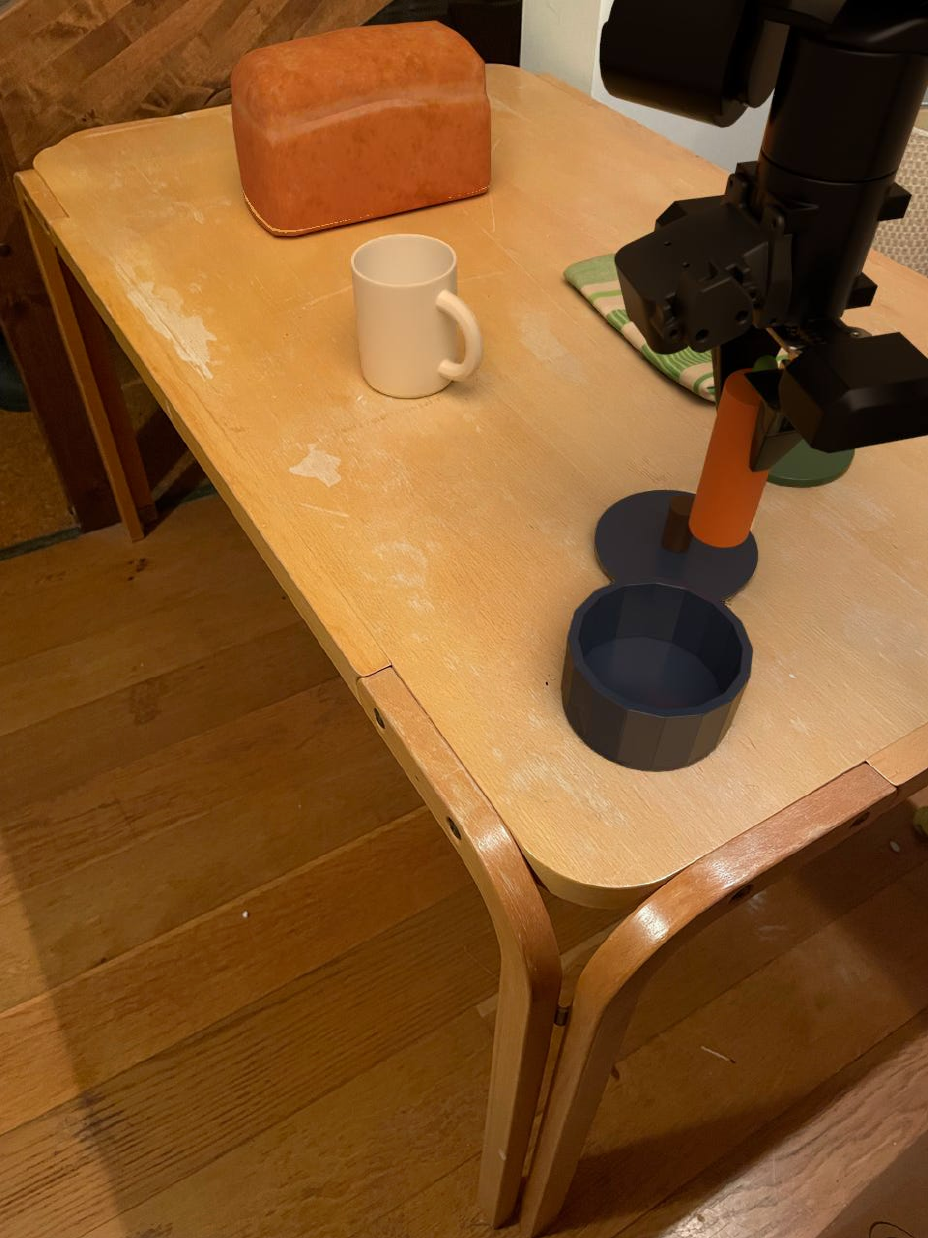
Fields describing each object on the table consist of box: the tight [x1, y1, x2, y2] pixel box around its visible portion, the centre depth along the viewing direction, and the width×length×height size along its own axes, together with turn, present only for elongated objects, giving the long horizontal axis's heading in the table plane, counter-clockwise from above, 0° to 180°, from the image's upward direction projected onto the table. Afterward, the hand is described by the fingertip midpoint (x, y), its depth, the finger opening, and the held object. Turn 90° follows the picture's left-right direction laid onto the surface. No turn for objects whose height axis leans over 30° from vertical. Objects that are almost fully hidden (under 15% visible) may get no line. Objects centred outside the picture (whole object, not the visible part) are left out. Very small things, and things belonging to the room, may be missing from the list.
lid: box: [593, 489, 759, 603], centre depth 61 cm, size 11×11×5 cm
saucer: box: [766, 439, 856, 488], centre depth 70 cm, size 10×10×1 cm
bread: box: [229, 20, 492, 237], centre depth 93 cm, size 14×26×16 cm, turn 116°
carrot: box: [689, 355, 778, 548], centre depth 50 cm, size 4×4×12 cm
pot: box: [560, 576, 754, 773], centre depth 52 cm, size 10×10×6 cm
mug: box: [349, 233, 484, 399], centre depth 72 cm, size 12×8×10 cm
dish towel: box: [562, 253, 788, 403], centre depth 81 cm, size 18×23×3 cm
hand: (742, 447), depth 50 cm, fingers closed on carrot, 3 cm apart
